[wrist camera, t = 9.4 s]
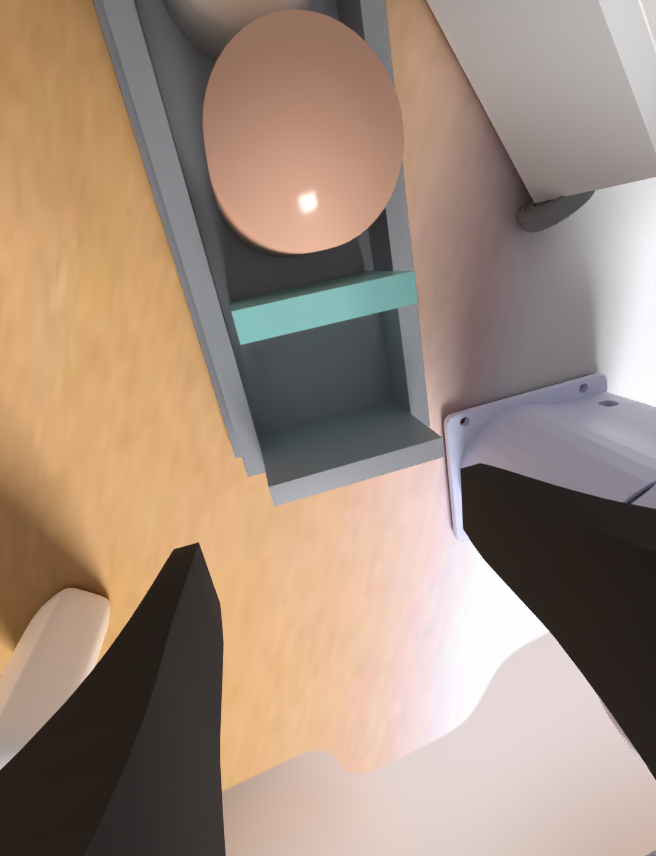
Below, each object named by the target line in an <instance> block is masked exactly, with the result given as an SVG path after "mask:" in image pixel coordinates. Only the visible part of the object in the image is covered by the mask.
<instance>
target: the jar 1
mask: <svg viewBox="0 0 656 856" xmlns="http://www.w3.org/2000/svg"><path fill="white" fill-rule="evenodd" d="M162 1H163V4H164V6H165V8H166V10H167V12H168V14H169V16H170V18H171V19H172V21H173V22H174V24H175V25H176V27H177V28H178V30H179V31H180V32H181V34H182V35H183V36H184V37H185V38H186V40H187V41H188V42H189V43H190V44H191V45H193V46H194V47H195V48H196V49H197V50H198V51H199V52H201V53H202V54H203V55H205V56H206V57H208V58H210V59H211V60H213V61H215V62H216V61H217V59H218V58H219V56H220V55H221V53H222V51H223V50H224V48H225V47H226V45H227V44H228V43H229V42H230V41H231V40H232V38H233V37H234V36H235V35H236V34H237V33H238V32H240V31H241V30H242V29H243V28H244V27H245V26H247V25H248V24H250V23H252V22H253V21H255V20H257V19H258V18H260V17H263V16H265V15H268V14H271V13H274V12H279V11H284V10H306V11H309V8H310V5H311V2H312V0H162Z"/></svg>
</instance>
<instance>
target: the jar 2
mask: <svg viewBox="0 0 656 856" xmlns="http://www.w3.org/2000/svg"><path fill="white" fill-rule="evenodd" d="M203 136H204V144H205V151H206V157H207V164H208V170H209V177H210V183H211V189H212V194H213V198H214V202H215V205H216V208H217V210H218V212H219V214H220V216H221V218H222V220H223V222H224V223H225V225H226V226H227V227H228V229H229V230H230V231H231V233H232V234H233V235H234V236H235V237H236V238H237V239H238V240H239V241H241V242H242V243H243V244H244V245H246V246H247V247H249V248H251V249H252V250H254V251H256V252H259V253H261V254H264V255H268V256H273V257H292V256H297V255H302V254H307V253H311V252H316V251H321V250H325V249H329V248H333V247H337V246H339V245H342V244H344V243H346V242H349V241H350V240H352V239H354V238H355V237H357V236H359V235H360V234H361V233H362V232H364V231H365V230H366V229H367V228H368V227H369V226H370V225H371V224H372V223H373V222H374V221H375V220H376V219H377V218H378V216H379V215H380V214H381V212H382V211H383V209H384V208H385V206H386V205H387V203H388V201H389V199H390V197H391V195H392V193H393V190H394V188H395V186H396V183H397V179H398V176H399V172H400V168H401V162H402V156H403V142H404V140H403V123H402V116H401V110H400V106H399V102H398V98H397V95H396V92H395V89H394V87H393V84H392V81H391V79H390V77H389V75H388V73H387V71H386V69H385V67H384V66H383V64H382V63H381V61H380V60H379V58H378V56H377V55H376V54H375V52H374V51H373V50H372V49H371V48H370V46H369V45H368V44H367V43H366V42H365V41H364V40H363V39H362V38H361V37H360V36H359V35H358V34H357V33H356V32H354V31H353V30H352V29H350V28H349V27H347V26H346V25H344V24H343V23H341V22H339V21H337V20H335V19H333V18H331V17H329V16H326V15H323V14H320V13H317V12H313V11H306V10H284V11H279V12H274V13H271V14H268V15H265V16H263V17H260V18H258V19H257V20H255V21H253V22H252V23H250V24H248V25H247V26H245V27H244V28H243V29H242V30H241V31H240V32H238V33H237V34H236V35H235V36H234V37H233V38H232V40H231V41H230V42H229V43H228V44H227V45H226V47H225V48H224V50H223V51H222V53H221V55H220V56H219V58H218V59H217V61H216V64H215V66H214V68H213V70H212V73H211V75H210V78H209V82H208V85H207V89H206V93H205V99H204V105H203Z"/></svg>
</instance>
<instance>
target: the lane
mask: <svg viewBox="0 0 656 856" xmlns="http://www.w3.org/2000/svg"><path fill="white" fill-rule="evenodd" d="M93 2H94V5H95V9H96V12H97V15H98V18H99V21H100V25H101V28H102V31H103V34H104V37H105V41H106V44H107V47H108V50H109V54H110V57H111V60H112V63H113V66H114V70H115V73H116V76H117V79H118V82H119V86H120V89H121V92H122V95H123V98H124V102H125V105H126V108H127V111H128V114H129V118H130V121H131V124H132V127H133V130H134V134H135V137H136V140H137V143H138V146H139V150H140V153H141V156H142V159H143V162H144V166H145V169H146V172H147V175H148V178H149V182H150V185H151V188H152V191H153V194H154V198H155V201H156V204H157V207H158V211H159V214H160V217H161V220H162V223H163V227H164V230H165V233H166V236H167V239H168V243H169V246H170V249H171V252H172V255H173V259H174V262H175V265H176V268H177V271H178V275H179V278H180V281H181V284H182V287H183V291H184V294H185V297H186V300H187V303H188V307H189V310H190V313H191V316H192V319H193V323H194V326H195V329H196V332H197V335H198V339H199V342H200V345H201V348H202V352H203V355H204V358H205V361H206V364H207V368H208V371H209V374H210V377H211V380H212V384H213V387H214V390H215V393H216V396H217V400H218V403H219V406H220V409H221V412H222V416H223V419H224V422H225V425H226V428H227V432H228V435H229V438H230V441H231V444H232V448H233V451H234V454H235V457H236V458H238V457H242V459H243V463H244V466H245V469H246V472H247V476H248V477H250V476H253V475H257V474H261V473H264V472H266V476H267V481H268V486H269V489H270V493H271V496H272V500H273V503H274V506H277V505H281V504H284V503H288V502H291V501H295V500H298V499H301V498H305V497H308V496H312V495H315V494H318V493H322V492H325V491H329V490H332V489H336V488H339V487H342V486H346V485H349V484H353V483H356V482H359V481H363V480H366V479H370V478H373V477H377V476H380V475H383V474H387V473H390V472H394V471H397V470H400V469H404V468H407V467H411V466H414V465H418V464H421V463H424V462H428V461H431V460H435V459H438V458H441V457H444V454H443V443H442V437H441V436H439V435H438V434H437V433H435V432H434V431H433V430H431V429H430V428H429V427H428V426H430V421H429V412H428V402H427V393H426V383H425V374H424V364H423V355H422V345H421V336H420V326H419V317H418V307H417V304H413V305H408V306H404V307H400V308H396V309H391V310H387V311H383V312H379V313H374V314H370V315H366V316H362V317H357V318H353V319H349V320H345V321H340V322H336V323H332V324H327V325H323V326H319V327H315V328H310V329H306V330H302V331H298V332H293V333H289V334H285V335H281V336H276V337H272V338H268V339H264V340H259V341H255V342H251V343H247V344H242V345H240V341H239V338H238V334H237V331H236V327H235V323H234V320H233V316H232V312H231V307H230V301H233V300H238V299H242V298H247V297H251V296H256V295H261V294H265V293H270V292H274V291H279V290H283V289H288V288H292V287H297V286H302V285H306V284H311V283H315V282H320V281H324V280H329V279H333V278H338V277H343V276H347V275H352V274H356V273H361V272H365V271H414V269H413V260H412V250H411V240H410V231H409V221H408V212H407V202H406V193H405V183H404V174H403V164H402V162H401V168H400V172H399V176H398V179H397V183H396V186H395V188H394V190H393V193H392V195H391V197H390V199H389V201H388V203H387V205H386V206H385V208H384V209H383V211H382V212H381V214H380V215H379V216H378V218H377V219H376V220H375V221H374V222H373V223H372V224H371V225H370V226H369V227H368V228H367V229H366V230H365V231H364V232H362V233H361V234H360V235H359V236H357V237H355V238H354V239H352V240H350V241H349V242H346V243H344V244H342V245H339V246H337V247H333V248H329V249H325V250H321V251H316V252H311V253H307V254H302V255H297V256H292V257H273V256H268V255H264V254H261V253H259V252H256V251H254V250H252V249H251V248H249V247H247V246H246V245H244V244H243V243H242V242H241V241H239V240H238V239H237V238H236V237H235V236H234V235H233V234H232V233H231V231H230V230H229V229H228V227H227V226H226V225H225V223H224V222H223V220H222V218H221V216H220V214H219V212H218V210H217V208H216V205H215V202H214V198H213V194H212V189H211V183H210V177H209V170H208V164H207V157H206V151H205V144H204V136H203V105H204V99H205V93H206V89H207V85H208V82H209V78H210V75H211V73H212V70H213V68H214V66H215V64H216V62H215V61H213V60H211V59H210V58H208V57H206V56H205V55H203V54H202V53H201V52H199V51H198V50H197V49H196V48H195V47H194V46H193V45H191V44H190V43H189V42H188V41H187V40H186V38H185V37H184V36H183V35H182V34H181V32H180V31H179V30H178V28H177V27H176V25H175V24H174V22H173V21H172V19H171V18H170V16H169V14H168V12H167V10H166V8H165V6H164V4H163V1H162V0H93ZM309 11H313V12H317V13H320V14H323V15H326V16H329V17H331V18H333V19H335V20H337V21H339V22H341V23H343V24H344V25H346V26H347V27H349V28H350V29H352V30H353V31H354V32H356V33H357V34H358V35H359V36H360V37H361V38H362V39H363V40H364V41H365V42H366V43H367V44H368V45H369V46H370V48H371V49H372V50H373V51H374V52H375V54H376V55H377V56H378V58H379V60H380V61H381V63H382V64H383V66H384V67H385V69H386V71H387V73H388V75H389V77H390V79H391V81H392V84H393V87H394V79H393V69H392V60H391V50H390V41H389V31H388V22H387V12H386V3H385V0H312V2H311V5H310V8H309ZM394 89H395V88H394Z"/></svg>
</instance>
